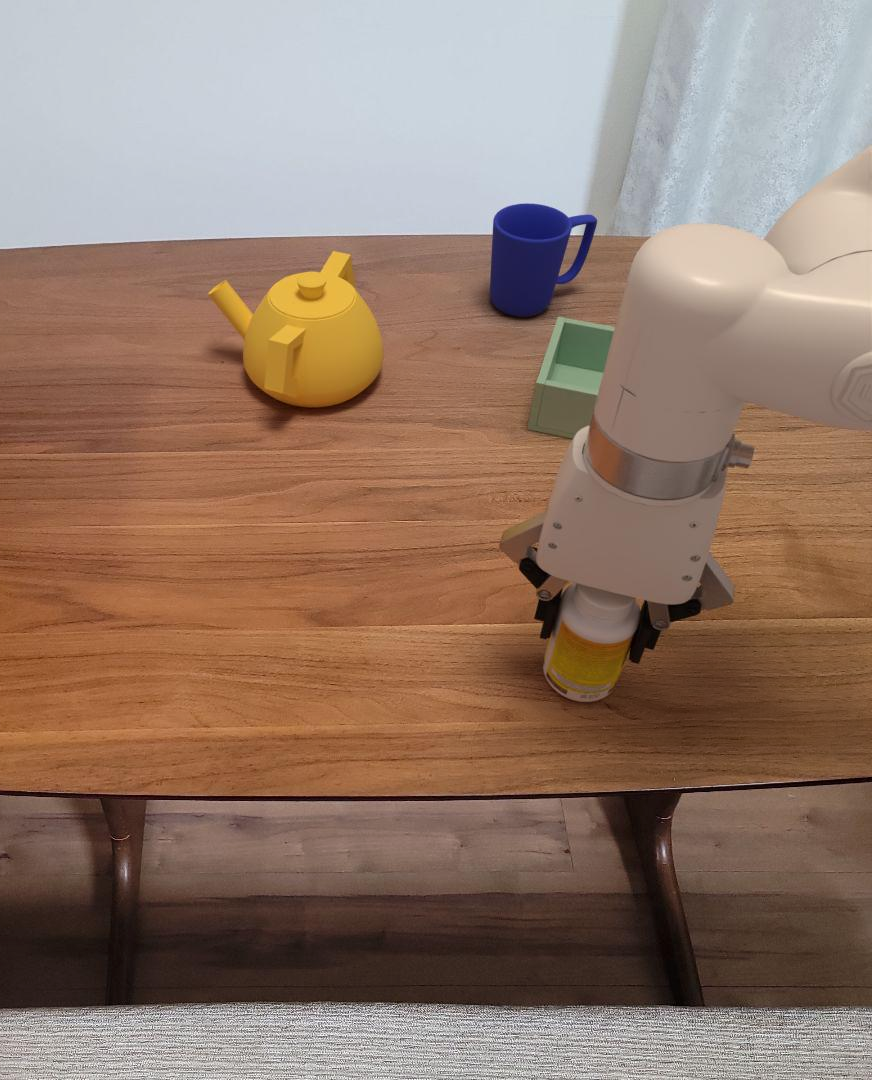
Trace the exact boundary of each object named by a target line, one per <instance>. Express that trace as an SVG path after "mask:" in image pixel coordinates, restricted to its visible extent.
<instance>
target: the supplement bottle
mask: <svg viewBox="0 0 872 1080" xmlns="http://www.w3.org/2000/svg"><path fill="white" fill-rule="evenodd" d="M640 611H641V608H640V605H639V603H638V601H637V598H634V597H630V596H626V595H621V594H617V593H613V592H609V591H605V590H601V589H597V588H593V587H589V586H586V585H582V584H578V583H574V582H572V583H570V585H568V586H567V587H566V588H565V589H564V591H562V594H561V599H560V603H559V607H558V611H557V614H556V618H555V622H554V625H553V629H552V632H551V636H550V639H549V638H548V641H547V645H546V648H545V653H544V656H543V660H542V670H543V674H544V677H545V680H546V681H547V683H548V684H549V686H550V687H551V688H552V689H553V690H554V691H555V692H557V693H558V694H559V695H560V696H563V697H565V698H566V699H569V700H570V701H571V700H572V701H575V702H580V703H581V702H582V703H592V702H596V701H599V700H602V699H604V698H607V696H609V695H610V694H611V693H612V692H613V691H614V689H615V688H616V685H617V684H618V681H619V679H620V676H621V674H622V671H623V668H624V665H625V662H626V660H627V658H628V656H629V653H630V647H631V645H632V642H633V639H634V637H635V634H636V632H637V630H638V626H639V623H640V619H641V612H640Z"/></svg>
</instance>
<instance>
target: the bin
mask: <svg viewBox="0 0 872 1080" xmlns="http://www.w3.org/2000/svg"><path fill="white" fill-rule="evenodd" d="M614 329H615V326H613V325H607V324H601V323H596V322H591V321H584V320H579V319H574V318H568V317H564V316H563V317H562V316H557V318H556V321H555V323H554V327H553V330H552V333H551V335H550V339H549V342H548V345H547V347H546V351H545V354H544V357H543V360H542V364H541V365H540V366H541V367H540V369H539V373H538V375H537V378H536V382H535V387H534V391H533V395H532V396H533V397H532V401H531V407H530V410H529V411H530V412H529V417H528V422H527V428H526V429H527V430H530V431H534V432H539V433H543V434H549V435H552V436H557V437H562V438H568V439H571V440H573V438H574V437H575V435H576V433H577V432H578V431H579V430H581V429H582V428H584V427H586V426H590V423H591V419H592V415H593V411H594V407H595V404H596V400H597V395H598V392H599V387H600V384H601V380H602V376H603V372H604V368H605V364H606V360H607V357H608V353H609V349H610V345H611V341H612V337H613V333H614Z"/></svg>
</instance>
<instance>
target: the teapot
mask: <svg viewBox="0 0 872 1080" xmlns="http://www.w3.org/2000/svg"><path fill="white" fill-rule="evenodd" d="M353 268H354V267H353V261H352V255H351V254H349V253H344V252H340V251H335V250H333V251H332V252H331V254H330V255H329V257H328V258H327V260H326V262H325V264H324V265H323V266H322V268H321V270H320V272H319V271H315V270H314V271H313V270H312V271H304V272H299V273H298V272H297V273H295V274H291V275H288V276H285V277H283V278H281V279H280V280H278V281H277V282H276V283H274V284H273V285H272V286H271V288H270V289H268V291H267V292H266V294H265V295H264V296H263V298H262V300H260V303H259V304H258V306H257V307H256V309H255V311H254V313H253V312H252V311H251V310H250V309H249V308H248V306H247V305H246V304H245V302H244V301H243V300H242V298H241V297H240V295H238V293H237V292H236V291H235V289H234V288H233V287H232V286H231V285H230V283H229V282H228V281H227V279H225V280H222V281H221V282H219V283H218V284H217V285H215V286H214V287H213V288H212V289H210V291H209V292H207V295H208V297H209V298H210V299H211V300H212V301H213V303H214V304H215V305H216V307H217V308H218V309H219V310H220V312H221V313H222V314H223V315H224V317H225V318H226V319H227V321H228V322H229V323H230V324H231V325H232V327H233V328H234V329H235V330H236V332H237V333H238V334H239V336H240V337H241V338H242V339H243V341H244V343H243V349H242V360H243V367H244V370H245V372H246V374H247V375H248V377H249V379H250V381H252V383H253V384H254V385H256V387H258V388H259V389H260V390H261V391H262V392H264V393H265V394H267V395H268V396H270V397H272V398H273V399H275V400H277V401H279V402H282V403H284V404H287V405H291V406H294V407H301V408H325V407H326V408H327V407H332V406H336V405H339V404H343V403H345V402H347V401H349V400H352V399H353V398H355V397H356V396H358V395H359V394H361V393H362V392H363V391H364V390H365V389H366V388H369V386H370V385H371V384H372V383H373V382H374V381H375V380H376V379H377V377H378V375H379V373H380V371H381V369H382V367H383V362H384V343H383V338H382V335H381V332H380V328H379V327H380V326H379V325H378V323H377V320H376V317H375V316H374V314H373V312H372V310H371V309H370V307H369V306H368V305H367V303H366V302H365V300H364V299H363V298H362V296H361V294H360V293H359V292H358V290H357V289H356V280H355V273H354V269H353Z"/></svg>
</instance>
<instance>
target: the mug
mask: <svg viewBox="0 0 872 1080" xmlns="http://www.w3.org/2000/svg"><path fill="white" fill-rule="evenodd" d="M492 219H493V220H492V236H491V237H492V238H491V241H492V242H491V255H490V257H491V259H490V274H489V275H490V278H489V279H490V280H489V297H490V300H491V303H492V304H493V306H494V307H495V308H496V309H497V310H499V311H500V312H502V313H504V314H506V315H509V316H514V317H521V318H523V317H524V318H525V317H532V316H536V315H538V314H540V313H541V314H542V312H544V311H545V310H547V308H548V306H549V305H550V303H551V302H552V299H553V296H554V293H555V289H556V286H557V285H566V284H568V283H570V282H571V281H573V280H574V279H575V278H576V277H578V274H579V273H580V272H581V270H582V268H583V267H584V264H585V261H586V259H587V257H588V254H589V251H590V248H591V245H592V242H593V239H594V235H595V233H596V229H597V225H598V219H597V217H595V216H594V214H588V213H587V214H579V215H573V216H568V215H567V214H566V213H564V212H563V211H562V210H559V209H557V208H556V207H555V208H554V207H552V206H549V205H545V204H540V203H539V204H538V203H516V204H511V205H507V206H505V207H503V208H501V209H500V210H499V211H497V212H496V213H495V215H494V216H493V218H492ZM582 225H585V228H584V231H583V234H582V238H581V241H580V244H579V248H578V251H577V254H576V256H575V258H574V260H573V262H572V264H571V265H570V268H569V269H568V270H567V271H566V272H565V273H563V274H561V275H560V271H561V268H562V264H563V261H564V258H565V254H566V250H567V247H568V244H569V240H570V238H571V233H572V230H573V228H576V227H579V226H582Z"/></svg>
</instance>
